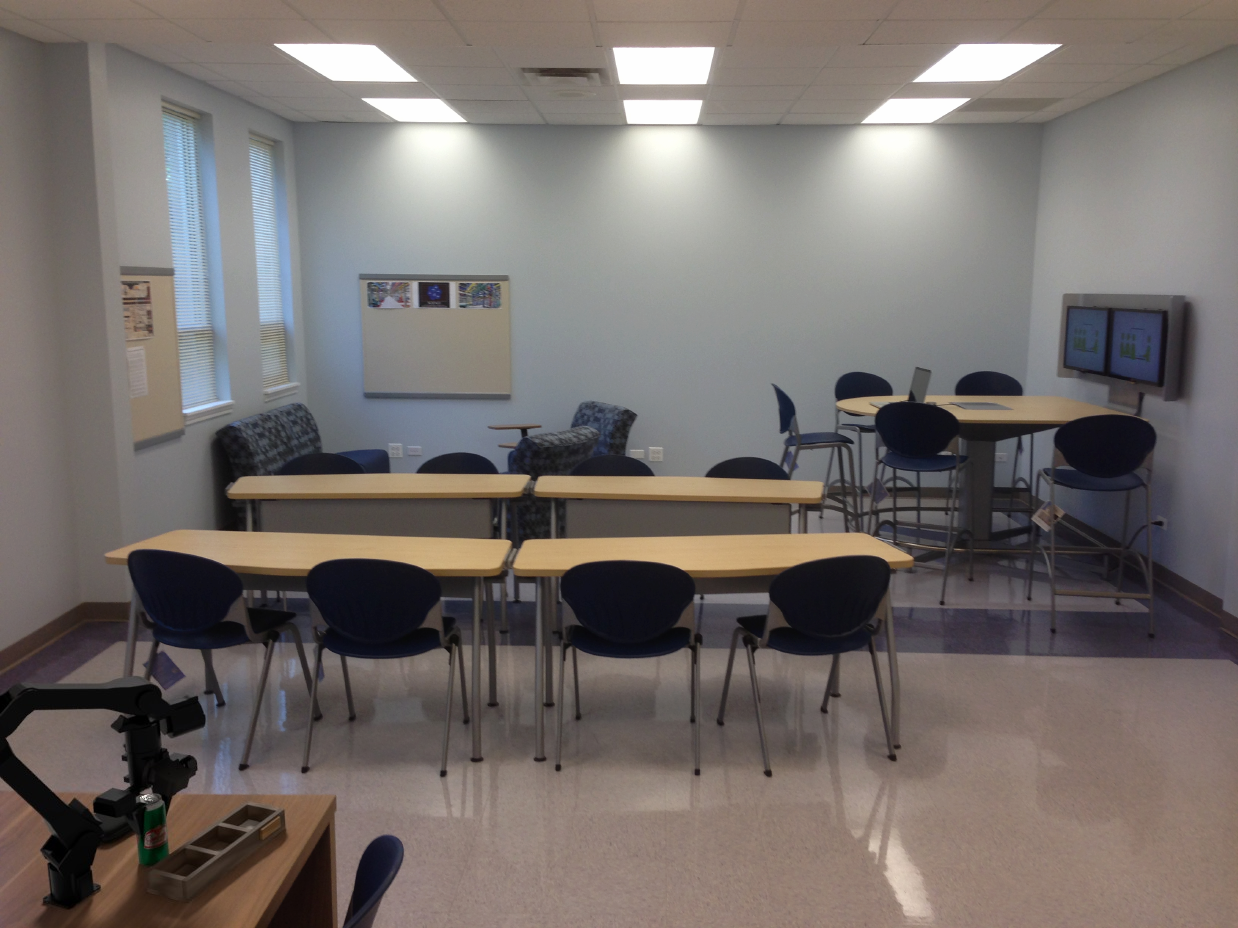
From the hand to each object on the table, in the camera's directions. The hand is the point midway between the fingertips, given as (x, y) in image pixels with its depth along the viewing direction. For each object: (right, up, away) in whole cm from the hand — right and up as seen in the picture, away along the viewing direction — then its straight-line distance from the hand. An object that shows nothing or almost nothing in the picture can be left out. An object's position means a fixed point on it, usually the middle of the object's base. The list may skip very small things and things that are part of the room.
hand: (151, 826), depth 175 cm
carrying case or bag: (-13, -5, +14) cm, 20 cm away
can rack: (+12, -6, +2) cm, 14 cm away
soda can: (0, -7, +1) cm, 7 cm away
